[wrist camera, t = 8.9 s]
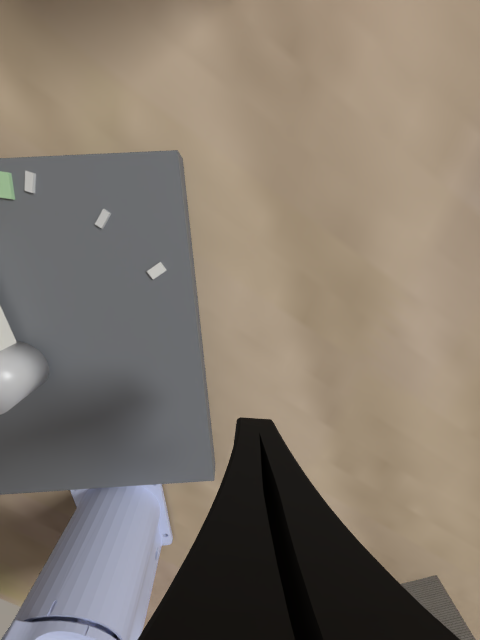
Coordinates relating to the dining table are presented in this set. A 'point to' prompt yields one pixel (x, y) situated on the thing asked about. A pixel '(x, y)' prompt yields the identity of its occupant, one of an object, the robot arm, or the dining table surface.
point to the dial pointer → (18, 368)
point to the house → (439, 604)
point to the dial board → (103, 323)
